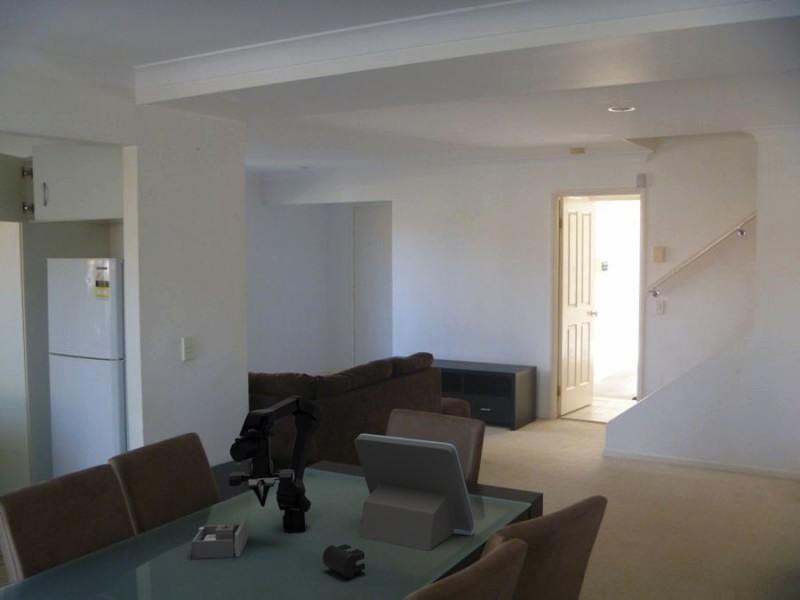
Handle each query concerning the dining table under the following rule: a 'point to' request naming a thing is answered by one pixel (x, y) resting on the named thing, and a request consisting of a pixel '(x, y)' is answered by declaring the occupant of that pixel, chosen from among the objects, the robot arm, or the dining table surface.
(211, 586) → the dining table surface
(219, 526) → the dice cube
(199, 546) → the housing
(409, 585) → the dining table surface
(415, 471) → the touchscreen device
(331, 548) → the end cap
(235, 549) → the tray
